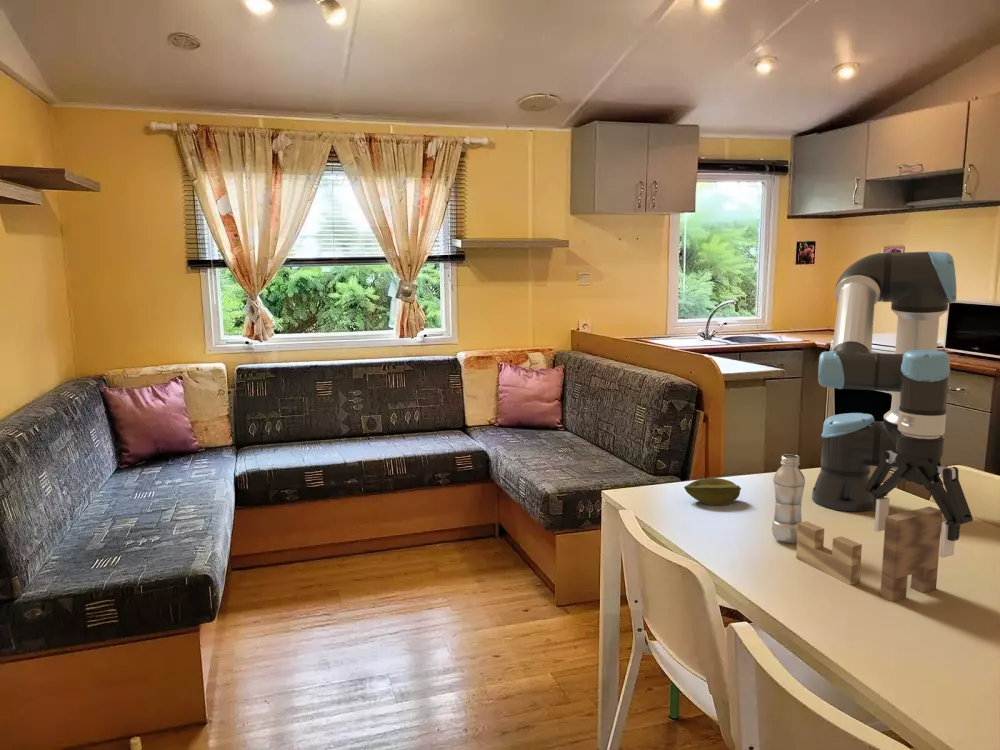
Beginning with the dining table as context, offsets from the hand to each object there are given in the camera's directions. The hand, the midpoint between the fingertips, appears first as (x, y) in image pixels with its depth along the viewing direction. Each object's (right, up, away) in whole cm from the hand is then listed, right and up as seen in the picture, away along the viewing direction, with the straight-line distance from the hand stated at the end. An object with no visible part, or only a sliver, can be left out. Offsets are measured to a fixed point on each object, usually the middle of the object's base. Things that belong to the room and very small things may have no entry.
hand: (912, 542), depth 135 cm
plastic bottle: (-13, -6, +27) cm, 31 cm away
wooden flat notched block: (0, -10, +2) cm, 10 cm away
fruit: (-22, -2, +54) cm, 58 cm away
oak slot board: (-11, -9, +12) cm, 18 cm away
